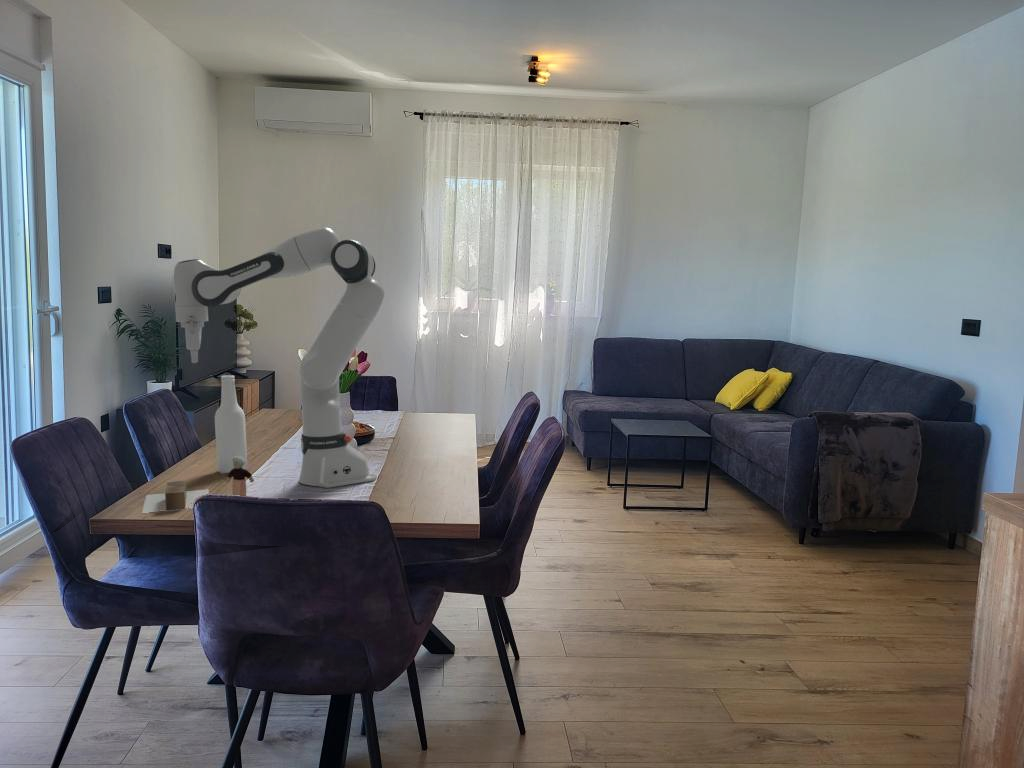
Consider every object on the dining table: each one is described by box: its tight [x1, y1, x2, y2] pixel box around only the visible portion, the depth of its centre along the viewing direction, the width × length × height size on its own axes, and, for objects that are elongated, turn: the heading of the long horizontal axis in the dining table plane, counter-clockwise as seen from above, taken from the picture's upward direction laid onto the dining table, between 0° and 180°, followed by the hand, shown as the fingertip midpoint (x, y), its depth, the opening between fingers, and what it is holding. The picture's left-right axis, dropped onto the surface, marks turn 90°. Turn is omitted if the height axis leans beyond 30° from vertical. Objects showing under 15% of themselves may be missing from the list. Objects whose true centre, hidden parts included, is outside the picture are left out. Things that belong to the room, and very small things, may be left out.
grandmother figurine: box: [225, 456, 255, 497], centre depth 208 cm, size 8×4×13 cm, turn 95°
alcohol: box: [214, 374, 248, 475], centre depth 238 cm, size 9×9×30 cm
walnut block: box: [164, 479, 187, 512], centre depth 205 cm, size 4×4×12 cm
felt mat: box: [141, 488, 210, 514], centre depth 207 cm, size 16×18×1 cm
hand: (194, 362), depth 228 cm, fingers closed
